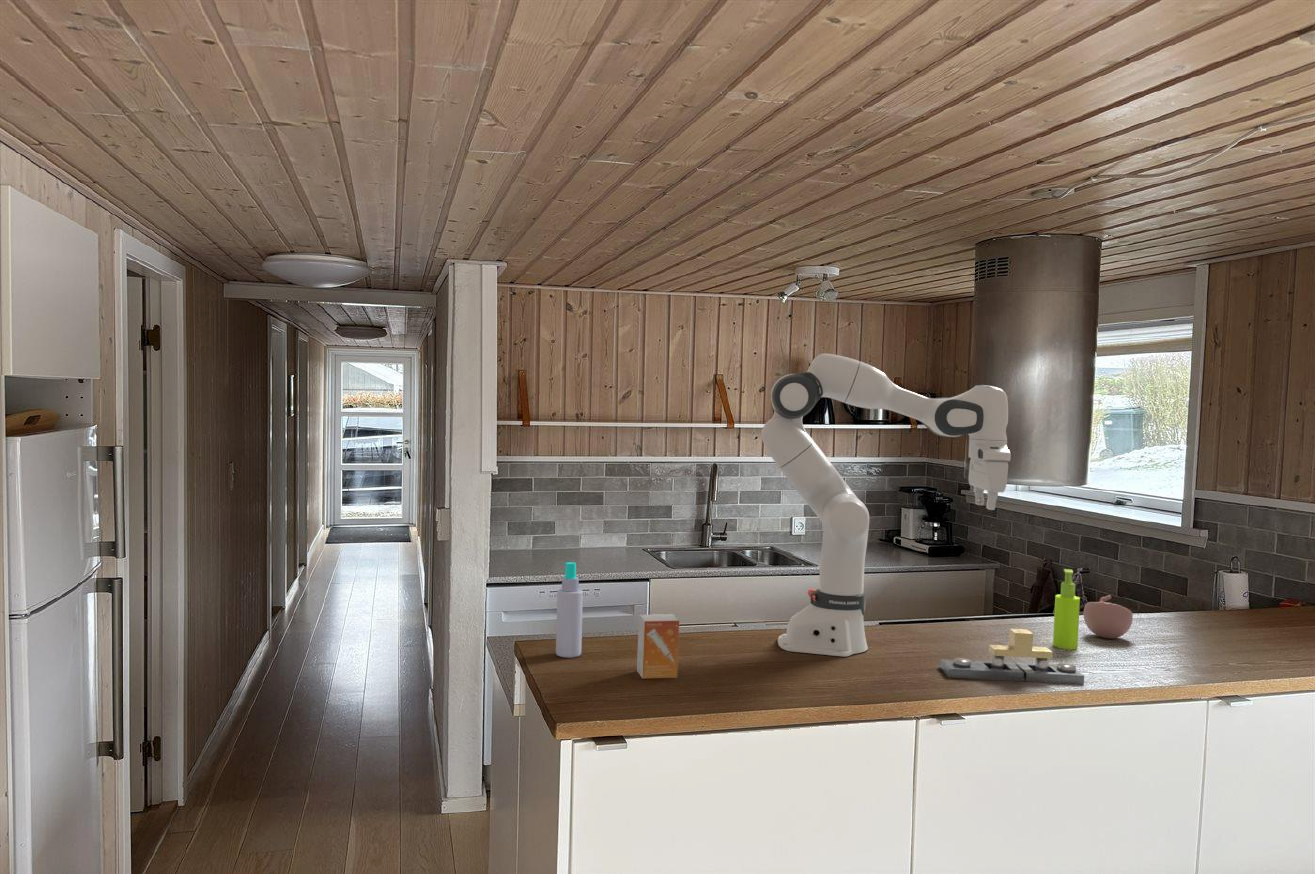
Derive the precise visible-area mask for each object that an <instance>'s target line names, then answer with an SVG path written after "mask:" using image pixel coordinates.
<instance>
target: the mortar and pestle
mask: <svg viewBox="0 0 1315 874" xmlns="http://www.w3.org/2000/svg"><path fill="white" fill-rule="evenodd" d="M1111 599H1112V595H1110V594H1109V595H1106V596H1102V597H1100V598H1099V601H1088V602H1087V603H1085V605H1084V608H1083V621H1084V623H1085V625H1086V627H1087V628H1088V629H1089V631H1090V632H1091V633H1092V634H1093V635H1096V636H1098V637H1100V638H1103V639H1111V640H1112V639H1118V638H1120V637H1122V636H1124V635H1125V634H1127V632H1128V631H1129V630H1130V629H1131V627H1132V624H1133V621H1134V620H1133V617H1134V615H1133V612H1132V611H1131V610H1130V609H1129V608H1127V607H1125V606H1122V605H1120V604H1117V603H1112V602H1106V601H1109V600H1111Z"/></svg>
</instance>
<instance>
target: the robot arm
mask: <svg viewBox="0 0 1315 874" xmlns="http://www.w3.org/2000/svg"><path fill="white" fill-rule="evenodd" d="M821 398H828V399H833V400H835V401H838V402H840V403H844V404H846V405H850V406H853V407H858V408H861V409H870V410H886V411H891V412H894V413H897V414H900V415H902V416H906V417H909V418H911V419H913V420H916V421H918V422H920V423H922V424H923V425H924V426H925V427H926V428H927V430H929V431H930V432H931V433H932V434H934V435H936V436H939V437H946V438H947V437H950V438H956V437H961V436H965V435H968V437H969V438H968V457H967V458H970V461H969V467H968V468H969V469H968V479H967V480H968V484H969V486H972V487H973V490H974V491H973V492H974V496H975V505H977V506H984V505H986V506H985V508H986V509H987V510H988V511H995V510H996V503H997V500H998V496H999V493H1004V492H1005V491H1006V489H1007V488H1006V487H1007V484H1008V483H1007V481H1008V476H1009V475H1008V473H1009V463H1008V462H1011V458H1012V457H1011V456H1012V454H1011V451H1010V449H1008V437H1007V427H1008V425H1009V424H1008V423H1009V402H1008V401H1009V400H1008V395H1007V393H1006V392H1005V391H1004V390H1003V389H1002V388H1000V387H997V386H993V385H986V384H977V385H974V387H972V388H970V389H969V390H966V391H965V392H963V393H960V394H957V395H956V396H951V397H935V398H934V397H928V396H924V395H921V394H918V393H916V392H913V391H911V390H907V389H904V388H902V387H900V386H898V385H897V384H896V383H893V381H892V380H890V378H889V377H888V376H887V374H886V373H885V372H883V371H882V370H880V369H878V368H876V367H875V366H872V365H871V364H869V363H866V362H863V361H861V360H857V359H854V358H851V357H847V356H843V355H838V354H834V353H833V354H832V353H826V352H825V353H820V354H818V355H817V356H815V358H813V360H812V361H811V363H810V364H809V366H808V369H807V371H805V372H800V373H788V374H785V375H782V376H781V377H779V378H778V379H777V380H776V381H775V382H774V383H773V385H772V387H771V389H770V401H771V405H772V412H773V413H772V414H773V416H772V417H770V419H769V420H768V421H766V422H765V423H764V425H763V427H762V428H761V430H760V438H761V440H762V442H763V444H764V446H765V448H766V450H767V452H768V453H769V455H770V457H771V458H772V460H773V461H774V463H775V464H776V465H777V467H778V468H779V469H780V471H781V472H782V473H783V474H784V476H785V477H786V479H787V480H788V481H789V482H790V483H791V485H792V486H793V488H794V489H795V490H796V491H797V493H798V494H799V495H800V496H801V498H802V499H803V500H804V501H805V502H806V504H807V505H808V506H809V508H810V509H811V510H812V511H813V513H814V514H815V515H816V516H817V518H818V519H819V520H820V522H821V523H822V527H823V528H822V542H821V550H820V551H821V552H820V558H819V583H818V584H819V585H818V589H814V588H809V589H807V590H808V591H807V595H808V597H809V598H810V599H809V600H810V604H809V605H807V606H806V607H804V608H803V609H802V610H801V609H800V611H798V612H796V613H795V614H794V615H792V616H791V617H790V620H789V621H788V624H787V629H786V633H782V634H781V635H779V636H778V638H777V645H778V646H779V647H780V649H783V651H784V650H785V651H786V652H792V653H793V652H795V653H804V654H806V653H807V654H815V655H826V656H834V657H844V658H845V657H846V658H847V657H849V656H852V655H855V654H861V653H864V652H866V651H867V650H868V649H869V647H868V644H867V643H868V642H867V638H866V633H865V632H866V631H865V624H864V623H865V621H864V615H865V612H866V594H865V592H864V590H865V589H864V586H865V585H864V584H865V583H864V582H865V561H866V554H867V547H868V540H869V528H870V513H869V510H868V508H867V506H866V505H865V503H864V502H862V501H861V500H860V499H859V498H858V496H856V494H855V493H854V492H853V490H852V489H851V487H850V486H849V485H848V484H847V483H846V481H845V480H844V478H843V477H842V475H841V474H840V472H838V470H837V469H836V467H835V466H834V464H832V463H831V461H830V460H829V458H828V456H826V455H825V453H824V452H823V451H822V449H821V448H820V447H819V445H818V444H817V443H816V442H815V440H814V439H813V437H811V435H810V434H809V433H808V432H807V430H806V429H805V426H804V424H803V418H804V417H805V416H806V415H808V414H809V413H810V412H811V411H812V410H813V408H814V407H815V406H816V404H817V403H818V401H820V400H821ZM984 491H986V492H987V501H986V503H985V498H984V495H985V494H984Z"/></svg>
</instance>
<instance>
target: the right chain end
mask: <svg viewBox="0 0 1315 874" xmlns="http://www.w3.org/2000/svg"><path fill="white" fill-rule="evenodd" d="M1014 664H1015V665H1016V666H1017V667H1018V668H1019V669H1020V670H1022V671H1023V672H1024V680H1023V681H1025V682H1030V683H1048V684H1049V683H1051V684H1069V685H1070V684H1072V685H1085V675H1084V674H1083V673H1081V672H1080V671H1079V670H1078V669H1077V665H1075V664H1072V663H1067V662H1059V663H1056V664H1049V665H1048V672H1039V671H1035V663H1030V662H1029V663H1028V662H1027V663H1026V662H1015V663H1014Z"/></svg>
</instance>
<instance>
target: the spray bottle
mask: <svg viewBox="0 0 1315 874" xmlns="http://www.w3.org/2000/svg"><path fill="white" fill-rule="evenodd" d="M579 581H580V580H579V577H578V576H577V563H576V562H575V561H568V562H565V571H564V576H563V577H562V580H561V588H559V589H558V590H557V593H556V595H557V597H556V625H555V626H556V632H555V636H556V638H555V654H556V656H558V657H561V658H565V659H573V658H577V657H580V656H581V655H582V640H583V639H582V637H583V632H582V631H583V602H584V601H583V599H584V597H583V596H584V595H583V594H584V591H583V589H581V588H580V584H579V583H580V582H579Z"/></svg>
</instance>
